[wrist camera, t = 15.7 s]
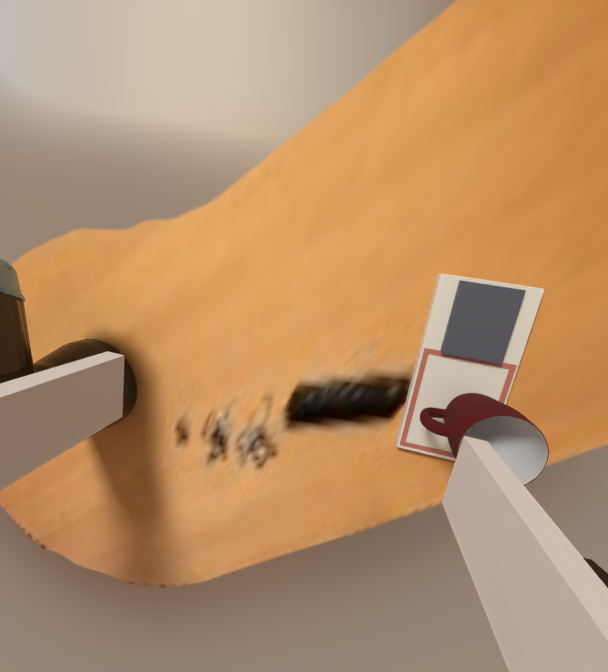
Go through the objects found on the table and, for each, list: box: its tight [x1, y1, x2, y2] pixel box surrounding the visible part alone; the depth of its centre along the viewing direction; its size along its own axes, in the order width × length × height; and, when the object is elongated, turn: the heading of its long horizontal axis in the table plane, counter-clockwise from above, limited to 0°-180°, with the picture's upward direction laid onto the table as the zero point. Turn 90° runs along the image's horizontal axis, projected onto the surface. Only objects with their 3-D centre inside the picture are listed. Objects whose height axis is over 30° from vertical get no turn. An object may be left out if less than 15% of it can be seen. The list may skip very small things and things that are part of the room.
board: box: [396, 273, 545, 461], centre depth 37 cm, size 12×24×2 cm, turn 171°
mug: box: [420, 393, 549, 485], centre depth 33 cm, size 10×8×10 cm
